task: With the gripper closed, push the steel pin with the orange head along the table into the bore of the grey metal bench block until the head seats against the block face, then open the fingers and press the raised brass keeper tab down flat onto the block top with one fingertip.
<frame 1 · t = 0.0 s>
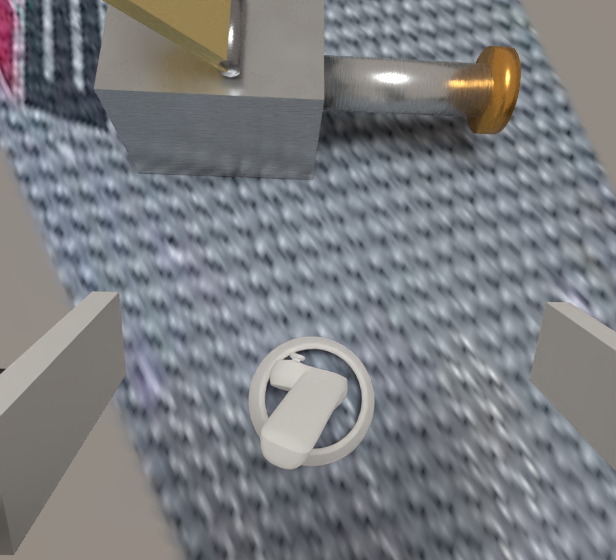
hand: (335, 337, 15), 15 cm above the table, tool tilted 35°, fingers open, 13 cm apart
grey ring with handle: (311, 399, 29), on the table
bench block: (229, 127, 35), on the table
pin: (406, 87, 30), point 5 cm above the table, slide at 0.0 cm
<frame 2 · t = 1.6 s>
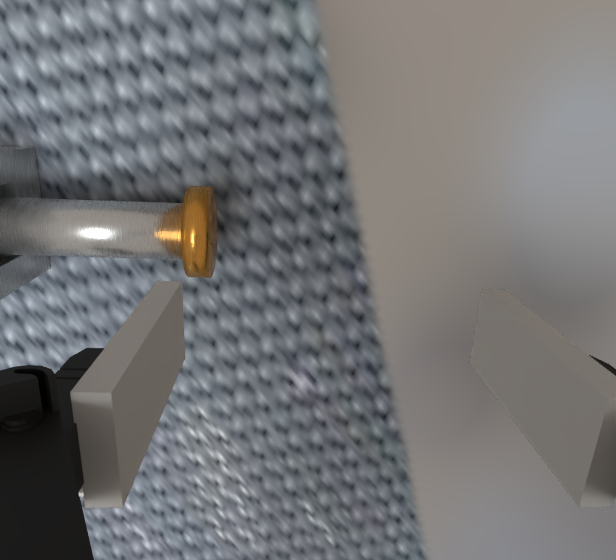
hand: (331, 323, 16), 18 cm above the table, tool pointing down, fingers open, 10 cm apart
pin: (102, 229, 27), point 5 cm above the table, slide at 0.0 cm
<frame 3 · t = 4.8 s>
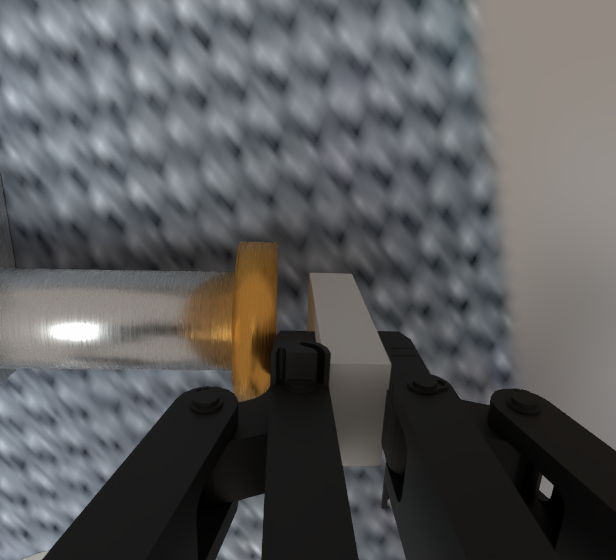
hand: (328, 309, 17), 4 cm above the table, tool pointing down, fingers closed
pin: (87, 318, 16), point 5 cm above the table, slide at 0.8 cm, touching gripper
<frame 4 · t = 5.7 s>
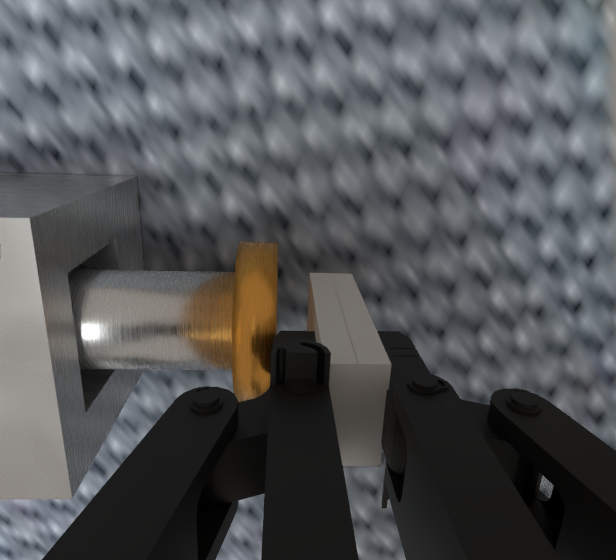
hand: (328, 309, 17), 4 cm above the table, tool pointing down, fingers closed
pin: (87, 318, 16), point 5 cm above the table, slide at 6.1 cm, touching gripper
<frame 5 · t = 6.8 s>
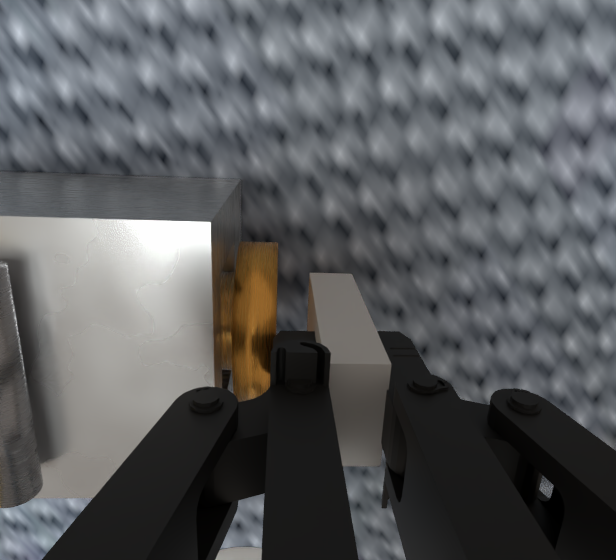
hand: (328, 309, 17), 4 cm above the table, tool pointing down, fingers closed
bench block: (98, 270, 20), on the table
pin: (87, 317, 16), point 5 cm above the table, slide at 10.1 cm, touching gripper
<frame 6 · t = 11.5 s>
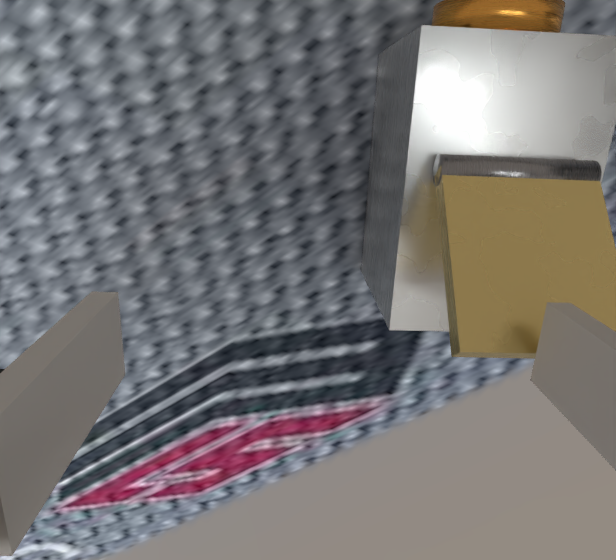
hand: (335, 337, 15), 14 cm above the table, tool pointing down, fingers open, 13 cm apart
bench block: (438, 173, 27), on the table
pin: (474, 156, 22), point 5 cm above the table, slide at 10.3 cm
keeper tab: (527, 250, 17), point 11 cm above the table, hinge at 38.6°, touching gripper
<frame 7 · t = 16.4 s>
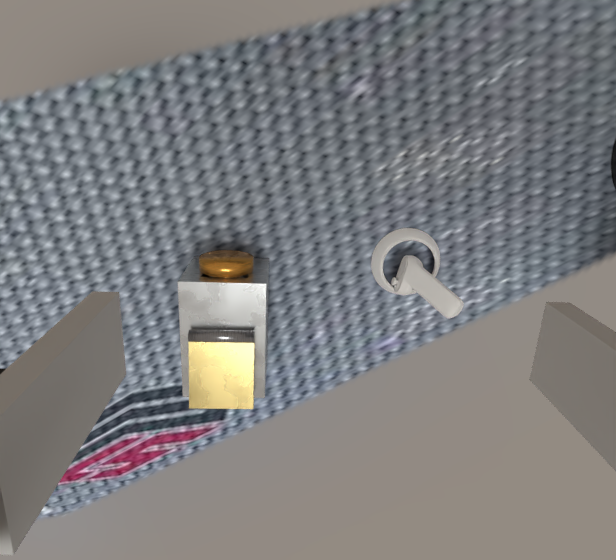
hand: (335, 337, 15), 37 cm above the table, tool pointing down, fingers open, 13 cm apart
grey ring with handle: (405, 261, 53), on the table
bench block: (232, 308, 54), on the table
pin: (227, 315, 48), point 5 cm above the table, slide at 10.3 cm
keeper tab: (221, 369, 45), point 10 cm above the table, hinge at 7.3°
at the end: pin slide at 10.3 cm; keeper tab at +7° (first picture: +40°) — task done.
